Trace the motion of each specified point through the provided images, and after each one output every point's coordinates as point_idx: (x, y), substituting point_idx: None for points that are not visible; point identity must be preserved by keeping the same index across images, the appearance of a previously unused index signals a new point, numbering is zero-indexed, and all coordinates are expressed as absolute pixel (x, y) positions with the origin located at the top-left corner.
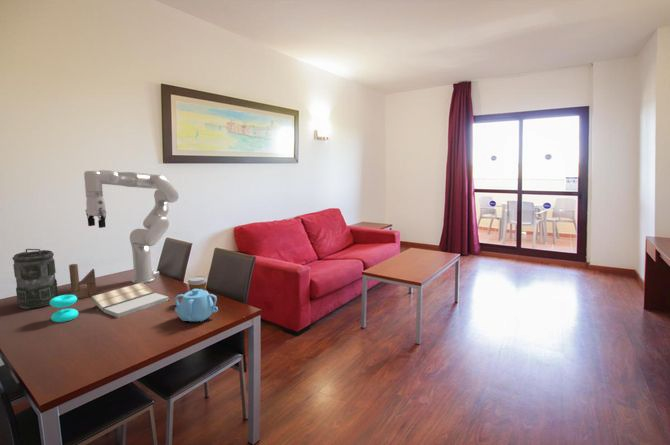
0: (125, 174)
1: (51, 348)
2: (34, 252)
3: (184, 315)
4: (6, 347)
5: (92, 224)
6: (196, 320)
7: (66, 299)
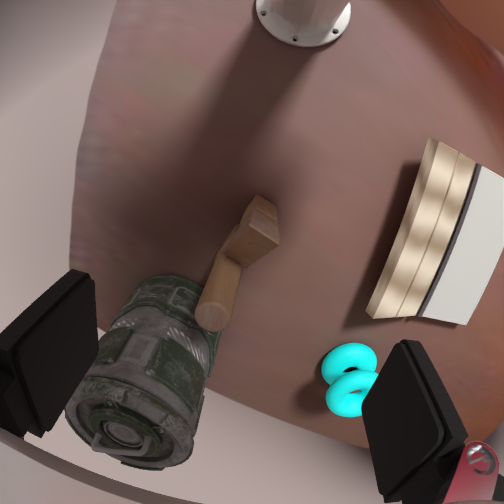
0: None
1: None
2: (95, 419)
3: None
4: (346, 442)
5: (86, 322)
6: None
7: None
